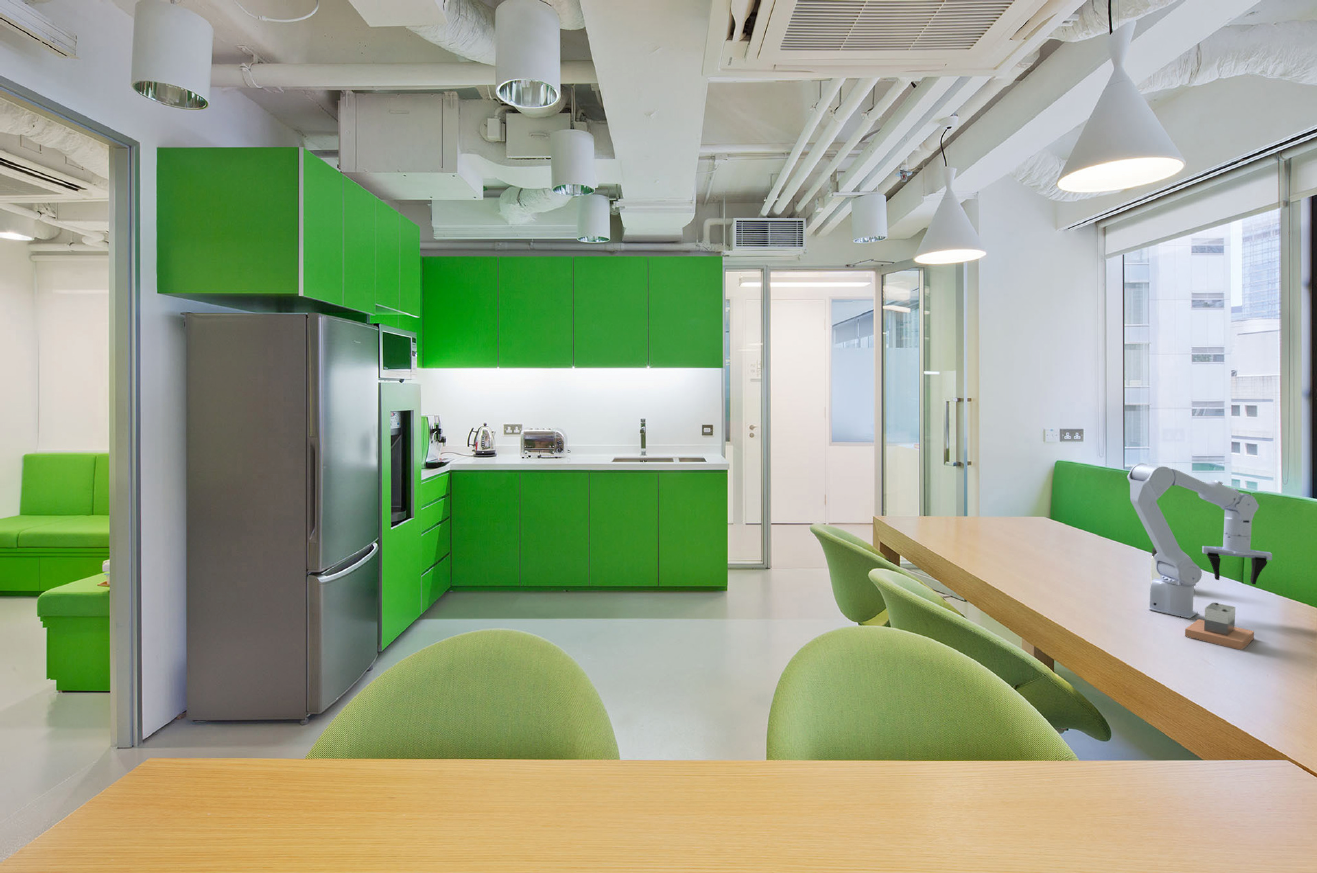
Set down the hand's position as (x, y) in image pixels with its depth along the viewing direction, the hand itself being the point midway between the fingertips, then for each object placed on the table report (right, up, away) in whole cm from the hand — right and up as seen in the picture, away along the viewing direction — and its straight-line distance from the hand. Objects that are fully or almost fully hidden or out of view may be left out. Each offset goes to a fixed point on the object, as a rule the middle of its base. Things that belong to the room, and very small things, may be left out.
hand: (1234, 581), depth 178 cm
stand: (-20, -11, -17) cm, 29 cm away
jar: (+3, -8, +27) cm, 29 cm away
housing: (-20, -9, -18) cm, 28 cm away
